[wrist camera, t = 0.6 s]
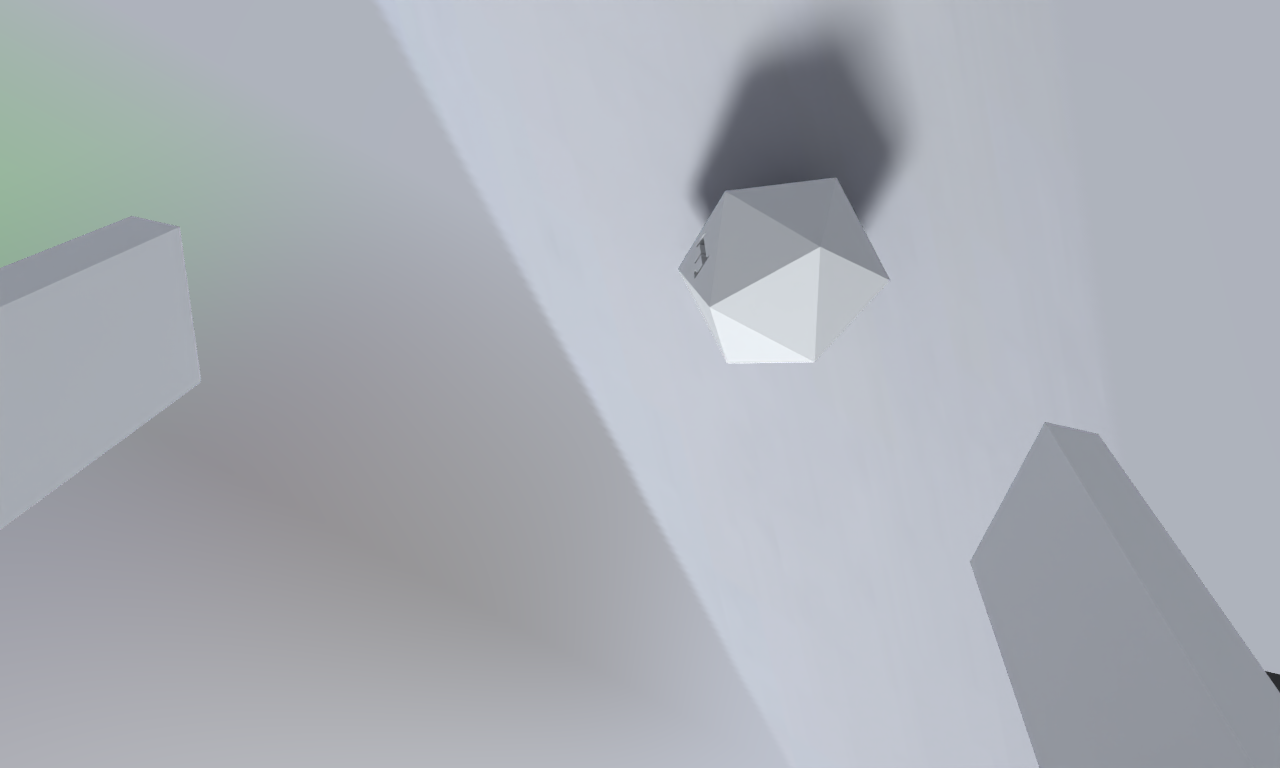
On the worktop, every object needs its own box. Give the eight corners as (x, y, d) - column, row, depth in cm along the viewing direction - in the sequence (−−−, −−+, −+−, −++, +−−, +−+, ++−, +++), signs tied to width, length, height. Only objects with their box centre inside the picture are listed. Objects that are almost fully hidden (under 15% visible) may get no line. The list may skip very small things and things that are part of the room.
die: (825, 121, 35) (685, 161, 29) (956, 253, 33) (832, 324, 27) (744, 241, 41) (615, 293, 36) (849, 359, 39) (730, 435, 34)
